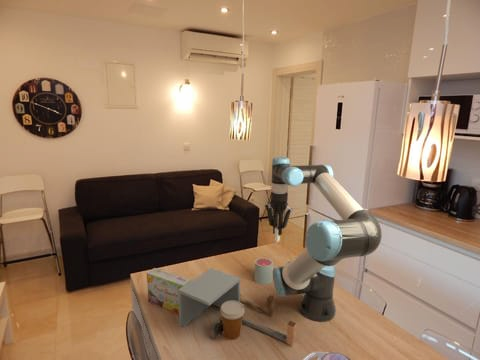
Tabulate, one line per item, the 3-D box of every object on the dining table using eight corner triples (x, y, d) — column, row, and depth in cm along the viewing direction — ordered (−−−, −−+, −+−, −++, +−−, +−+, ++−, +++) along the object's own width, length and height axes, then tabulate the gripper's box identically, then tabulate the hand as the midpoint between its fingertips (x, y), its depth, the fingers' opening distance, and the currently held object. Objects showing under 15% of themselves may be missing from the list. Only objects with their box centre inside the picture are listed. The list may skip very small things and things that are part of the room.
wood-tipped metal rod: (295, 341, 117) (296, 323, 116) (275, 370, 104) (276, 350, 102) (235, 315, 132) (235, 298, 130) (211, 338, 118) (211, 319, 117)
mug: (267, 286, 155) (268, 268, 152) (251, 281, 159) (251, 263, 157) (278, 274, 166) (279, 257, 164) (263, 270, 171) (264, 253, 169)
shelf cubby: (239, 313, 133) (240, 278, 130) (209, 342, 116) (209, 302, 113) (211, 301, 142) (211, 268, 138) (179, 327, 124) (178, 289, 121)
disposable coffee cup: (240, 345, 115) (241, 317, 113) (216, 340, 118) (216, 312, 115) (246, 328, 124) (247, 301, 122) (223, 324, 127) (224, 297, 124)
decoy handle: (274, 313, 134) (274, 296, 132) (271, 316, 132) (272, 299, 130) (234, 297, 145) (235, 282, 143) (231, 300, 143) (231, 284, 141)
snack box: (147, 303, 140) (145, 272, 136) (155, 296, 145) (154, 267, 141) (185, 317, 130) (184, 285, 127) (193, 310, 135) (192, 279, 132)
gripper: (296, 192, 139) (293, 241, 144) (270, 188, 146) (268, 235, 151) (289, 195, 133) (286, 247, 138) (262, 191, 140) (260, 240, 145)
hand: (277, 240), depth 144 cm, fingers closed
